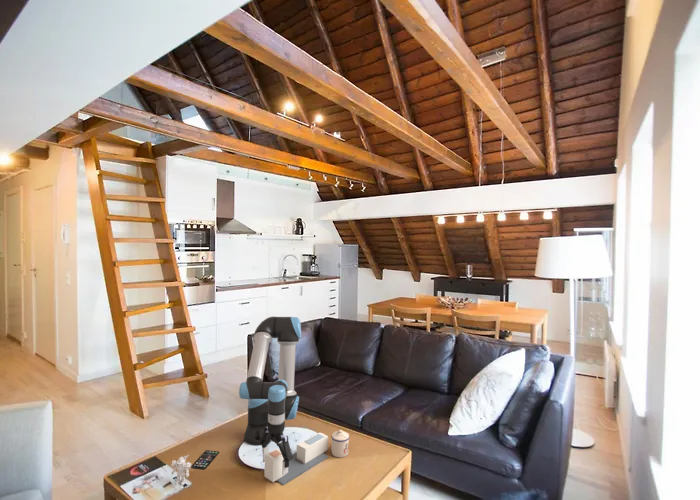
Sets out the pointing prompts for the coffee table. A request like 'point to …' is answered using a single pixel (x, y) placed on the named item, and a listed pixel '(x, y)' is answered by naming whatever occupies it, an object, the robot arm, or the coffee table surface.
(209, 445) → the coffee table surface
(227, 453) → the coffee table surface
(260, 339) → the robot arm
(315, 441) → the cream long box
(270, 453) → the box with pink panel
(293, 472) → the mat
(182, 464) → the hat wearing toy figure
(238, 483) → the coffee table surface
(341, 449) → the teacup with lid
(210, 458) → the smartphone
